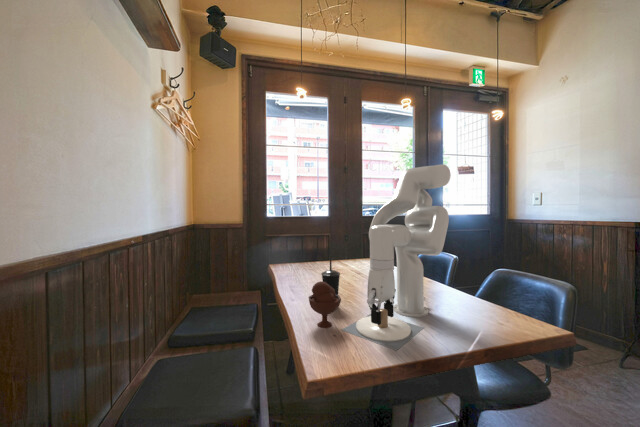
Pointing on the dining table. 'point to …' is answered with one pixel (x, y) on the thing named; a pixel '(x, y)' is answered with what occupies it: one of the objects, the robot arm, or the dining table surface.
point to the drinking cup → (331, 278)
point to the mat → (390, 344)
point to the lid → (384, 328)
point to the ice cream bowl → (324, 302)
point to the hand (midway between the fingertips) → (382, 319)
